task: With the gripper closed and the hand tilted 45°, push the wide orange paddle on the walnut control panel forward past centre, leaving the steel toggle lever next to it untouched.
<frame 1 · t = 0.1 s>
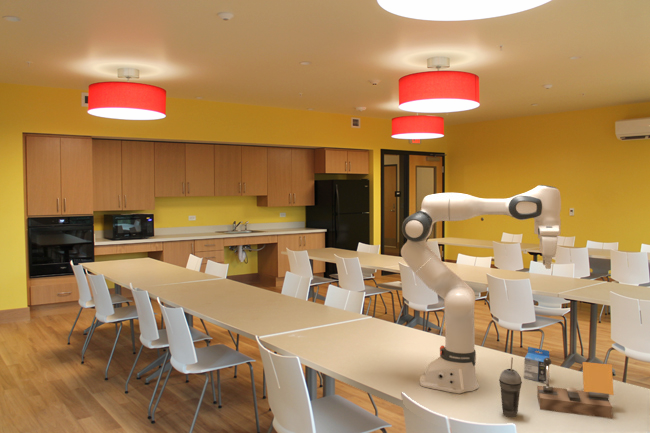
hand: (546, 266, 181), 48 cm above the table, tool pointing down, fingers open, 8 cm apart
label tape box: (536, 380, 199), on the table
beverage cup: (509, 415, 167), on the table
orange paddle: (597, 380, 172), point 10 cm above the table, hinge at -22.0°
control panel: (572, 406, 173), on the table
steel toggle lever: (547, 374, 177), point 10 cm above the table, hinge at -22.0°
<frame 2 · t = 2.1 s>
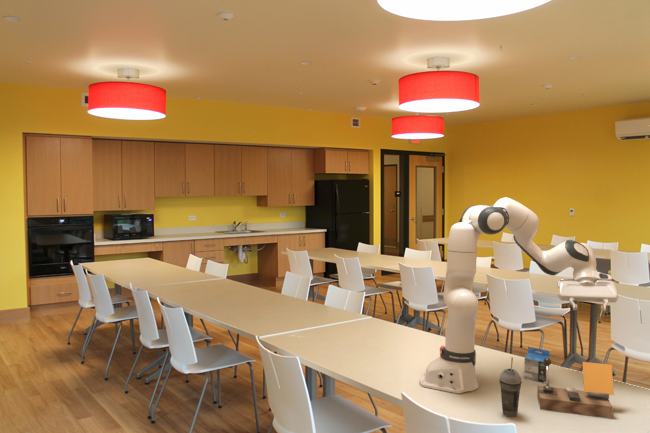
hand: (589, 309, 187), 31 cm above the table, tool tilted 45°, fingers open, 8 cm apart
nothing on the table moved.
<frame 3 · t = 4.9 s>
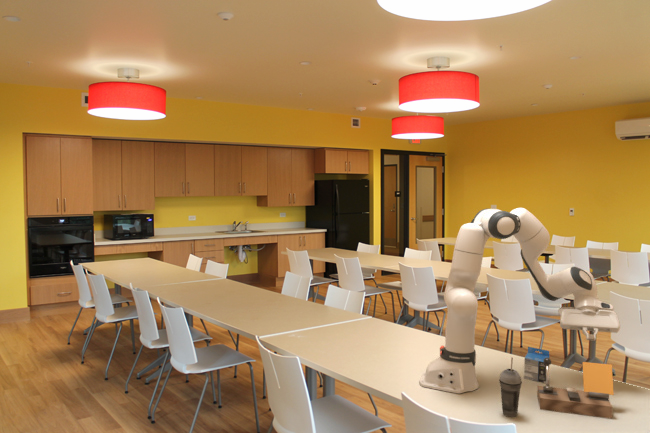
hand: (591, 339, 184), 20 cm above the table, tool tilted 45°, fingers closed
nothing on the table moved.
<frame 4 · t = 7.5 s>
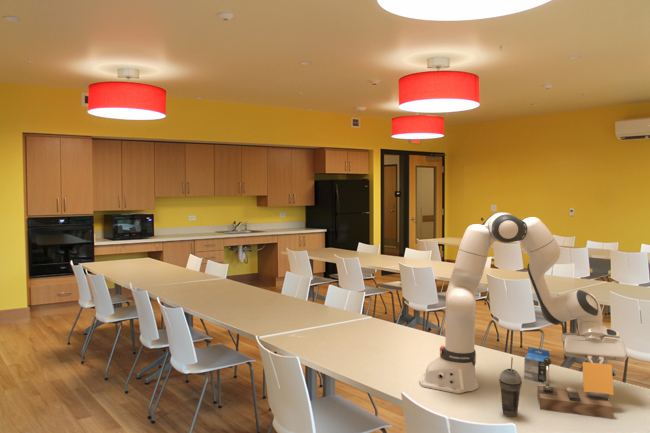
hand: (596, 369, 174), 13 cm above the table, tool tilted 45°, fingers closed, pressing on orange paddle
orange paddle: (597, 380, 172), point 10 cm above the table, hinge at -21.9°, touching gripper
everything else where it was.
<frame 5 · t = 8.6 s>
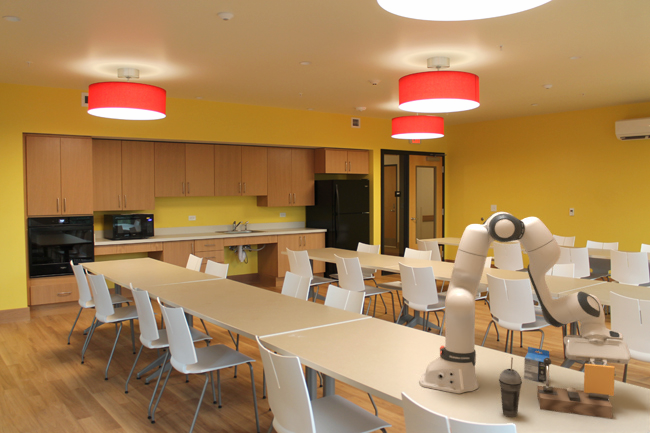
hand: (599, 372, 170), 13 cm above the table, tool tilted 45°, fingers closed, pressing on orange paddle
orange paddle: (599, 381, 170), point 10 cm above the table, hinge at 3.9°, touching gripper
everything else where it was.
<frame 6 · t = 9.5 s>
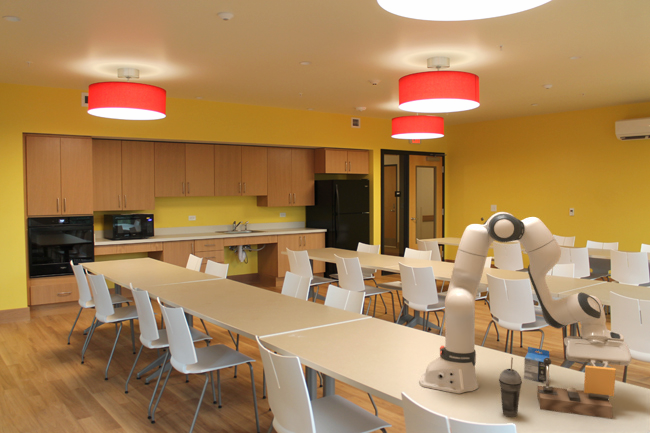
hand: (600, 373, 169), 13 cm above the table, tool tilted 45°, fingers closed, pressing on orange paddle
orange paddle: (599, 382, 169), point 10 cm above the table, hinge at 12.5°, touching gripper
everything else where it was.
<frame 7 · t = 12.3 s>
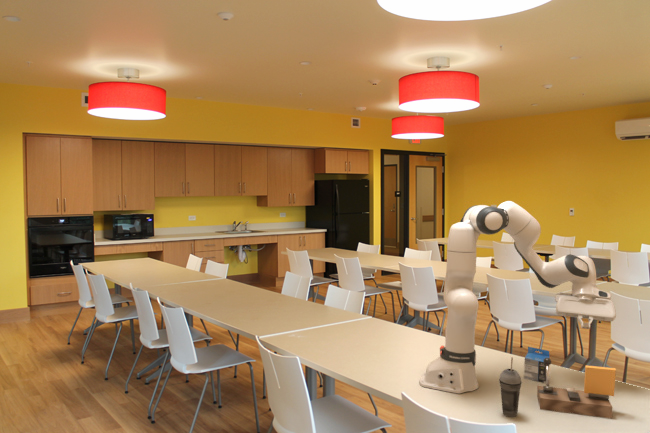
hand: (585, 328, 185), 24 cm above the table, tool tilted 40°, fingers closed
orange paddle: (599, 382, 169), point 10 cm above the table, hinge at 12.8°
everything else where it was.
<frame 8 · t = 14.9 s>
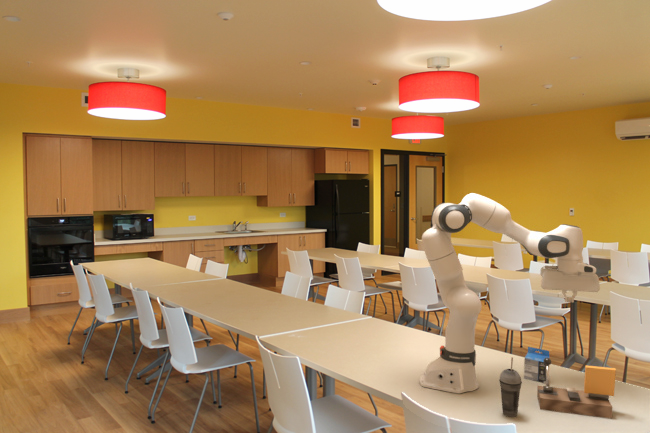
hand: (569, 302, 190), 33 cm above the table, tool pointing down, fingers closed
nothing on the table moved.
at the end: orange paddle at +13° (first picture: -22°); steel toggle lever at -22° (first picture: -22°) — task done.
